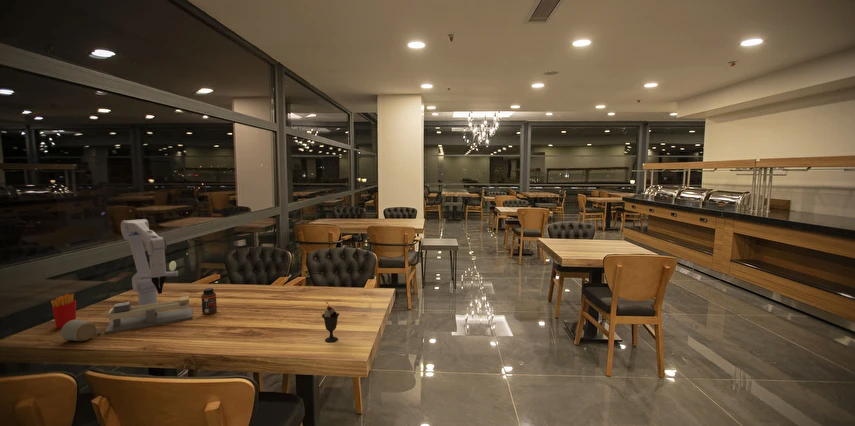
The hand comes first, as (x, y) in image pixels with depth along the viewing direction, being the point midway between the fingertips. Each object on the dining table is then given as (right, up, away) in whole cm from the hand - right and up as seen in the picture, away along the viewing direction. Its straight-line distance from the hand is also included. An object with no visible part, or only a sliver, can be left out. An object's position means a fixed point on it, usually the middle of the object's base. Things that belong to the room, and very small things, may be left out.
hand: (160, 293), depth 170 cm
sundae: (+85, -13, -25) cm, 89 cm away
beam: (+1, -7, -6) cm, 9 cm away
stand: (+1, -11, -6) cm, 12 cm away
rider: (-8, -6, -11) cm, 15 cm away
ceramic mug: (-14, -13, -23) cm, 30 cm away
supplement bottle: (+20, -10, +4) cm, 23 cm away
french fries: (-33, -12, -10) cm, 37 cm away
